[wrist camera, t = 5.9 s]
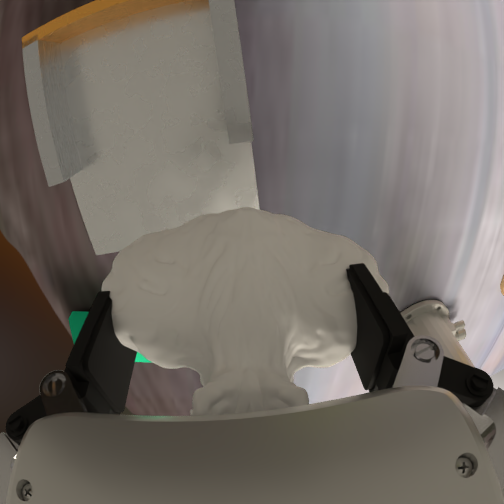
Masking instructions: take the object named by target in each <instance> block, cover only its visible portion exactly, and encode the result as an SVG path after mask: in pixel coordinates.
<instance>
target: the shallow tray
mask: <svg viewBox="0 0 504 504" xmlns="http://www.w3.org/2000/svg"><path fill="white" fill-rule="evenodd" d="M22 49H23V61H24V71H25V79H26V87H27V94H28V100H29V106H30V112H31V117H32V122H33V127H34V132H35V136H36V141H37V145H38V149H39V153H40V157H41V161H42V165H43V168H44V172H45V175H46V179H47V182H48V185H49V187H50V186H53V185H56V184H59V183H62V182H65V181H66V180H68V179H69V178H70V180H71V183H72V187H73V190H74V193H75V196H76V200H77V203H78V206H79V209H80V212H81V215H82V218H83V221H84V224H85V226H86V229H87V232H88V235H89V237H90V240H91V243H92V245H93V248H94V251H95V253H96V255H101V254H107V253H112V252H119V251H121V250H122V249H124V248H125V247H127V246H128V245H130V244H131V243H132V242H134V241H135V240H136V239H138V238H140V237H141V236H143V235H145V234H149V233H155V232H160V231H163V230H167V229H172V228H176V227H179V226H181V225H183V224H185V223H187V222H188V221H190V220H192V219H194V218H196V217H198V216H201V215H205V214H210V213H221V212H224V211H227V210H233V209H238V208H242V207H251V208H255V209H258V210H260V208H259V200H258V192H257V184H256V176H255V168H254V160H253V152H252V145H251V141H253V133H252V125H251V117H250V110H249V102H248V95H247V87H246V80H245V73H244V65H243V58H242V51H241V44H240V37H239V30H238V23H237V16H236V9H235V3H234V0H95V1H93V2H90V3H88V4H86V5H83V6H81V7H79V8H76V9H74V10H72V11H70V12H68V13H66V14H64V15H62V16H60V17H58V18H56V19H54V20H52V21H50V22H48V23H46V24H44V25H43V26H41V27H39V28H37V29H35V30H34V31H32V32H30V33H29V34H27V35H25V36H24V37H22Z"/></svg>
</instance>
